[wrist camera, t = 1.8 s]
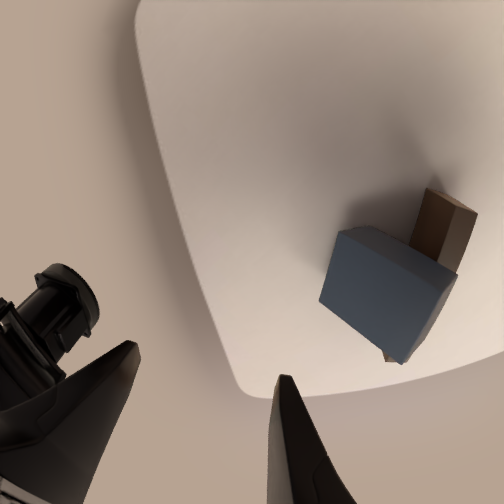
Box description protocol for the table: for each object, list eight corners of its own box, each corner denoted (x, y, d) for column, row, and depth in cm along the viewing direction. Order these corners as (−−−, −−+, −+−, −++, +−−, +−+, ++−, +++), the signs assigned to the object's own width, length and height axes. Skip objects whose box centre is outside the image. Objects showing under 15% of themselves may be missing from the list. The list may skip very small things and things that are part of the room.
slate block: (315, 283, 20) (327, 362, 13) (332, 217, 17) (361, 281, 11) (399, 294, 19) (434, 364, 13) (422, 236, 17) (476, 296, 10)
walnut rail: (374, 327, 21) (385, 362, 17) (426, 187, 15) (456, 205, 12) (394, 329, 21) (406, 362, 17) (447, 194, 15) (478, 213, 12)
